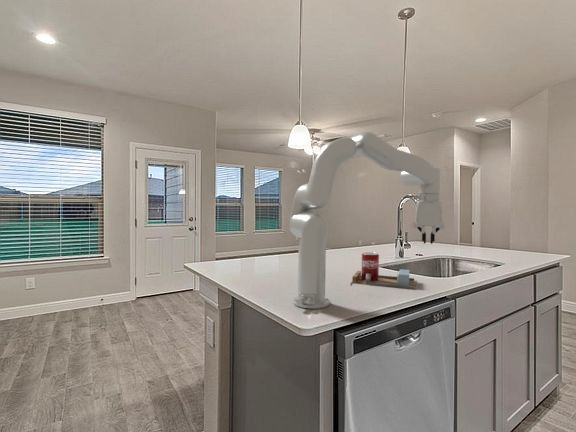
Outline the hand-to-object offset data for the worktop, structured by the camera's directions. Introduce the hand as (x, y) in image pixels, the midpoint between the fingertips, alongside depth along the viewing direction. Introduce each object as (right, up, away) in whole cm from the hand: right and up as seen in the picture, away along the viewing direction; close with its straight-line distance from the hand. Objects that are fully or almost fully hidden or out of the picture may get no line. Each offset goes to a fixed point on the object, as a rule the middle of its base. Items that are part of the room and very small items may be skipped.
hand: (428, 242), depth 130 cm
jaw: (-8, -18, +4) cm, 20 cm away
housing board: (-16, -19, +7) cm, 26 cm away
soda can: (-21, -18, +9) cm, 29 cm away
